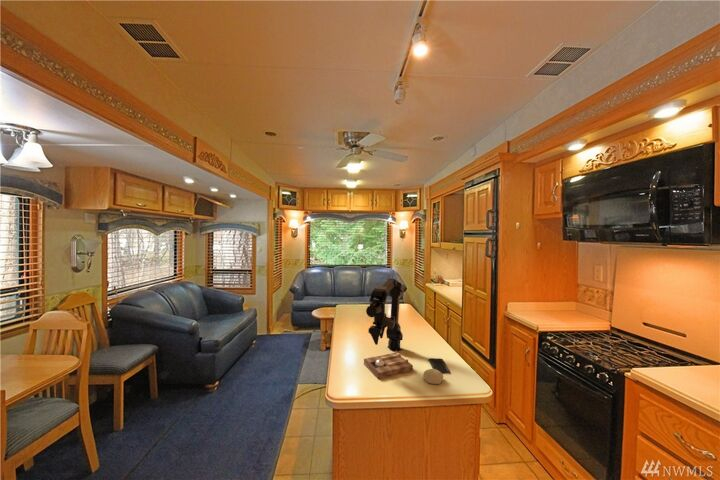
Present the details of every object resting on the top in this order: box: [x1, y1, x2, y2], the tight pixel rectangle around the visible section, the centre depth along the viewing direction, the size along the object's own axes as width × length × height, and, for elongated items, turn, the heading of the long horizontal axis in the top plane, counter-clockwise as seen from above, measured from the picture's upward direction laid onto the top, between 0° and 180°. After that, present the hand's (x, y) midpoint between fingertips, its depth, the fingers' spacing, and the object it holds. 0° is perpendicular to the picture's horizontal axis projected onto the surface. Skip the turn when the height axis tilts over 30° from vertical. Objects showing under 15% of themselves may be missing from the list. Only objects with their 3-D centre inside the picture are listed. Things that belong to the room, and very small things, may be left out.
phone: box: [428, 357, 451, 374], centre depth 144 cm, size 8×1×15 cm
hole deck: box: [363, 352, 414, 380], centre depth 141 cm, size 20×16×4 cm
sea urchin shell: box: [422, 368, 444, 385], centre depth 130 cm, size 9×8×8 cm
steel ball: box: [375, 359, 385, 368], centre depth 139 cm, size 5×5×5 cm
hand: (378, 341), depth 144 cm, fingers open, 9 cm apart
